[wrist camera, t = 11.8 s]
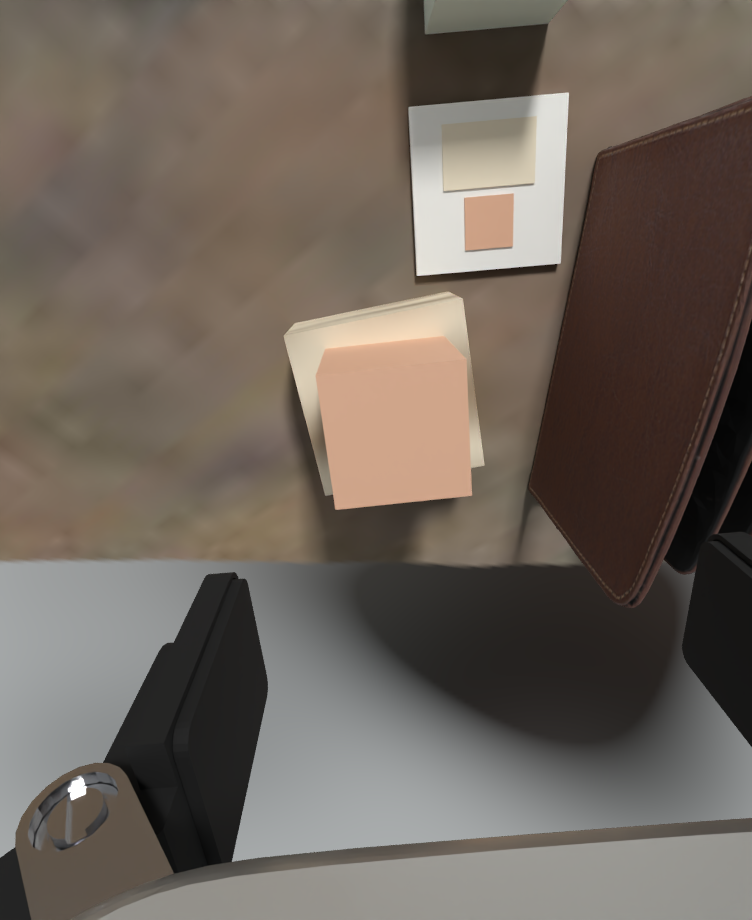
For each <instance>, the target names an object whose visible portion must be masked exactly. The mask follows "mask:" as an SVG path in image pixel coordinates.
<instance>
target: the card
mask: <svg viewBox="0 0 752 920" xmlns="http://www.w3.org/2000/svg"><path fill="white" fill-rule="evenodd" d="M568 101H569V93H559V94H547V95H536V96H525V97H514V98H503V99H491V100H480V101H469V102H458V103H447V104H435V105H424V106H413V107H409V108H408V115H409V136H410V156H411V176H412V197H413V217H414V237H415V257H416V276H423V275H434V274H446V273H457V272H469V271H480V270H491V269H503V268H514V267H526V266H537V265H549V264H560V263H561V246H562V225H563V204H564V184H565V163H566V142H567V121H568Z"/></svg>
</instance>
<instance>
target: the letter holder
mask: <svg viewBox="0 0 752 920" xmlns="http://www.w3.org/2000/svg"><path fill="white" fill-rule="evenodd" d="M528 490H529V491H530V493H531V494H532V495H533V496H534V498H535V499H536V500H537V501H538V503H539V504H540V505H541V507H542V508H543V509H544V511H545V512H546V514H547V515H548V517H549V518H550V519H551V521H552V522H553V523H554V525H555V526H556V528H557V529H558V530H559V531H560V532H561V534H562V535H563V537H564V538H565V539H566V541H567V542H568V544H569V545H570V546H571V548H572V549H573V551H574V552H575V554H576V555H577V556H578V558H579V559H580V561H581V562H582V563H583V564H584V566H585V567H586V568H587V570H588V571H589V572H590V573H591V575H592V576H593V578H594V579H595V580H596V582H597V583H598V584H599V585H600V587H601V588H602V589H603V590H604V592H605V593H606V595H607V596H608V597H609V598H610V599H611V600H612V601H613V602H614V603H616V604H618V605H622V606H624V607H628V608H634V607H636V606H637V605H639V604H640V603H641V602H642V600H643V599H644V597H645V595H646V594H647V592H648V591H649V589H650V587H651V585H652V582H653V580H654V578H655V576H656V574H657V572H658V571H659V568H660V566H661V564H662V561H663V559H664V560H665V561H666V562H667V563H668V564H669V565H670V566H671V567H672V568H673V569H674V570H675V571H677V572H678V573H680V574H691V573H693V572H695V571H696V567H697V561H698V556H699V550H700V547H701V545H702V544H703V543H704V542H707V540H708V538H709V537H710V536H711V535H713V534H721V533H733V532H745V533H747V534H749V535H750V536H752V96H751V97H748V98H744V99H741V100H739V101H737V102H734V103H732V104H729V105H726V106H724V107H721V108H719V109H716V110H713V111H711V112H708V113H706V114H703V115H700V116H698V117H695V118H692V119H689V120H686V121H683V122H680V123H677V124H674V125H672V126H669V127H667V128H664V129H661V130H658V131H655V132H653V133H650V134H648V135H645V136H642V137H639V138H636V139H633V140H631V141H628V142H625V143H623V144H620V145H617V146H614V147H612V146H611V147H608V148H607V149H605V150H602V151H601V152H599V153H598V156H597V160H596V165H595V170H594V175H593V180H592V186H591V191H590V196H589V201H588V206H587V212H586V217H585V222H584V227H583V232H582V237H581V241H580V246H579V251H578V256H577V261H576V265H575V269H574V274H573V279H572V284H571V288H570V293H569V297H568V302H567V306H566V311H565V316H564V320H563V324H562V330H561V335H560V339H559V344H558V349H557V354H556V359H555V363H554V368H553V373H552V378H551V383H550V387H549V392H548V397H547V402H546V407H545V411H544V416H543V421H542V426H541V431H540V435H539V440H538V445H537V450H536V455H535V460H534V464H533V469H532V472H531V478H530V481H529V486H528Z"/></svg>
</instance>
